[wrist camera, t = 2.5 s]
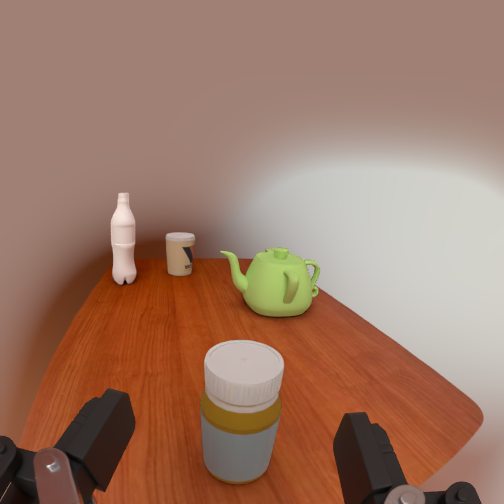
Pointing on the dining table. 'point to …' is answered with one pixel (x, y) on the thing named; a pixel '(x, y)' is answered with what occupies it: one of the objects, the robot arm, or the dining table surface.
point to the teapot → (276, 282)
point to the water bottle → (123, 241)
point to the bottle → (240, 409)
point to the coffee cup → (180, 253)
